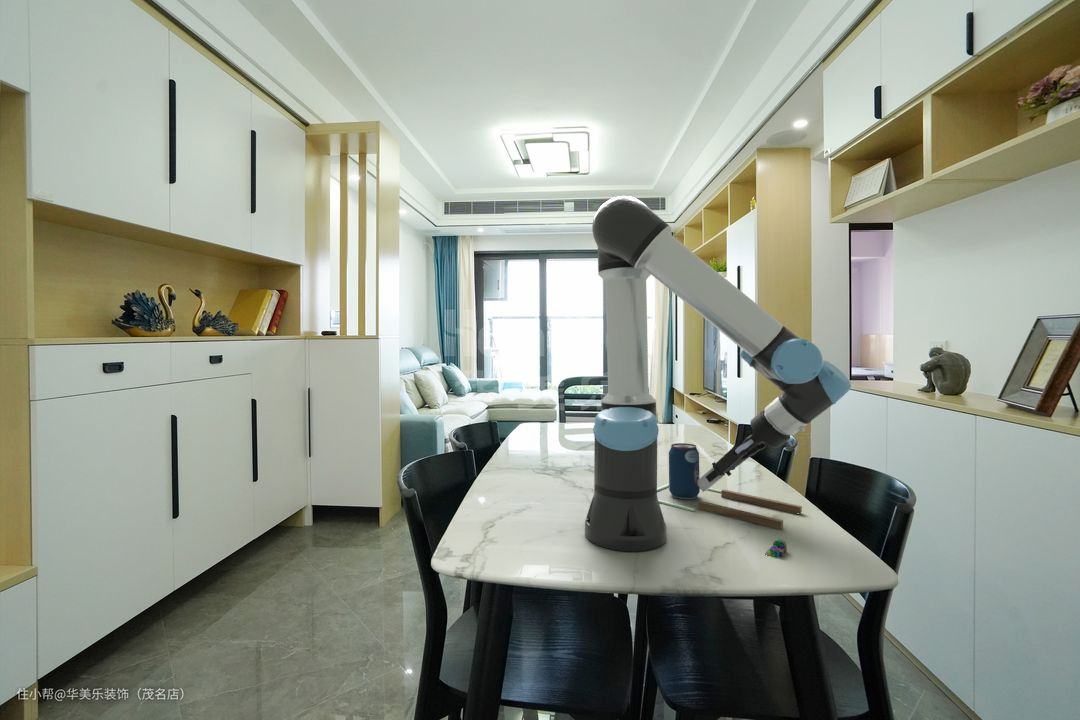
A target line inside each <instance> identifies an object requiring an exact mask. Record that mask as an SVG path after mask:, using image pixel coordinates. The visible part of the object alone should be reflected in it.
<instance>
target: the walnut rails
mask: <svg viewBox="0 0 1080 720" xmlns="http://www.w3.org/2000/svg"><path fill="white" fill-rule="evenodd" d="M720 494H721V498H724V499H726V498H727V499H730V500H733V501H734V500H735V501H738V502H742V501H743V503H746V504H752V505H755V506H761V507H766V508H768V509H769V508H770V509H775V510H779V511H784V512H786V511H787V513H791V512H793V513H792V514H795V513H799V514H798V515H801V514H802V513H801V512H803V510H802V509H803V506H802V505H798V504H793V503H789V502H784V501H780V500H775V499H771V498H765V497H761V496H756V495H752V494H747V493H742V492H736V491H733V490H728V489H724V488H723V489H722V491H721V493H720ZM697 504H698V505H697V507H698V510H702V511H705V512H709V513H714V514H718V515H722V516H726V517H730V518H734V519H737V520H741V521H745V522H749V523H753V524H757V525H761V526H765V527H769V528H772V529H777V530H783V528H784V519H783V520H782V519H778V518H775V517H770V516H765V515H762V514H757V513H753V512H749V511H746V510H742V509H741V510H740V509H736V508H733V507H729V506H724V505H720V504H716V503H712V502H708V501H703V500H699V501H698V503H697ZM800 513H801V514H800Z"/></svg>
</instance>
